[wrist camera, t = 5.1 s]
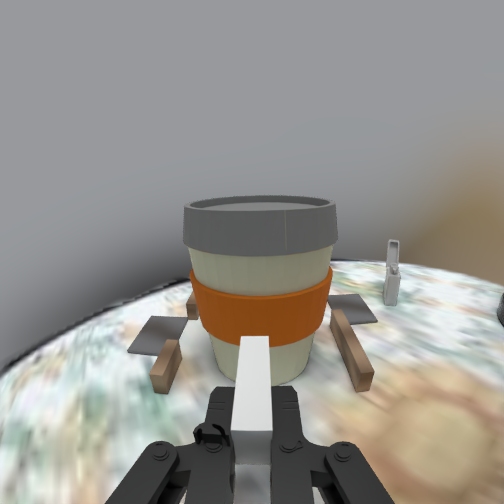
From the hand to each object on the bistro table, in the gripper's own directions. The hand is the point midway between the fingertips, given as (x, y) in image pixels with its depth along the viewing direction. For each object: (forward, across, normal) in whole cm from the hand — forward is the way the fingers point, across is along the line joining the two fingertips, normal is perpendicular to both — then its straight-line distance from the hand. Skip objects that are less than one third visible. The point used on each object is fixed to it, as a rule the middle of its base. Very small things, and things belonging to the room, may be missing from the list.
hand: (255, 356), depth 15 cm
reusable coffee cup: (+10, 0, -8) cm, 12 cm away
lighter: (+23, +20, -8) cm, 31 cm away
